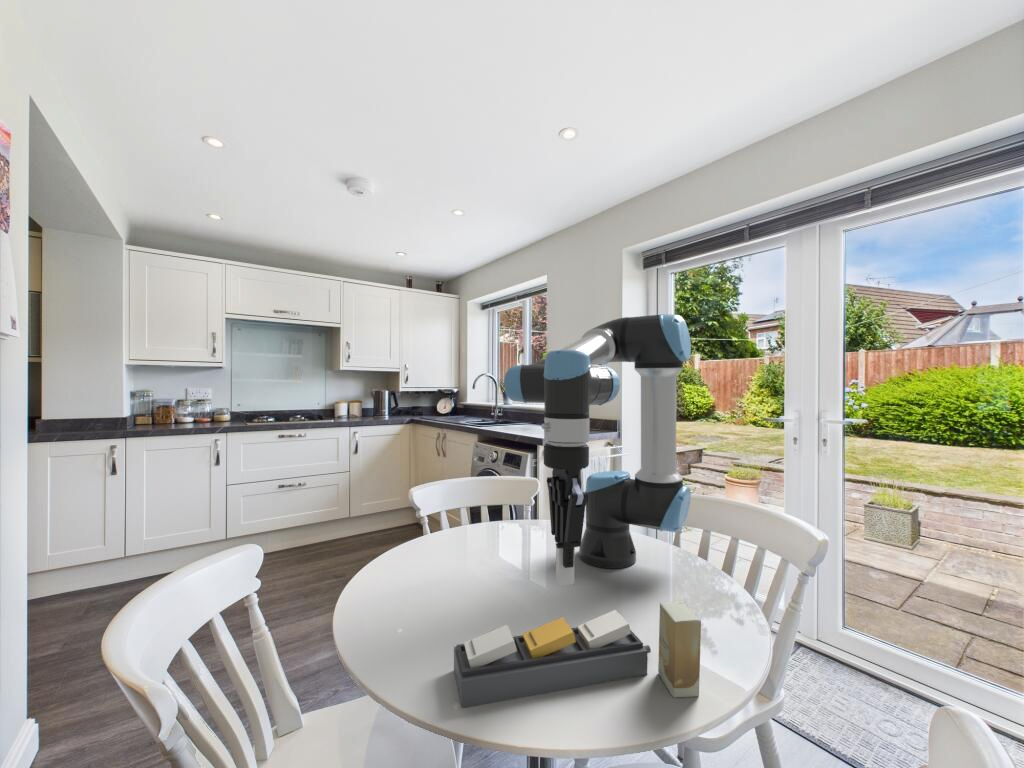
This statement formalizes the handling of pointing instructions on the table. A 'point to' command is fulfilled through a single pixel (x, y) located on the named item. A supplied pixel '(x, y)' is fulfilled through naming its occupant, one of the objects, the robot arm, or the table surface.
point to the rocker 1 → (490, 647)
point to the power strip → (547, 669)
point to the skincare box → (679, 649)
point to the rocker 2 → (604, 630)
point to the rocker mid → (549, 638)
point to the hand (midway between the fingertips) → (565, 583)
